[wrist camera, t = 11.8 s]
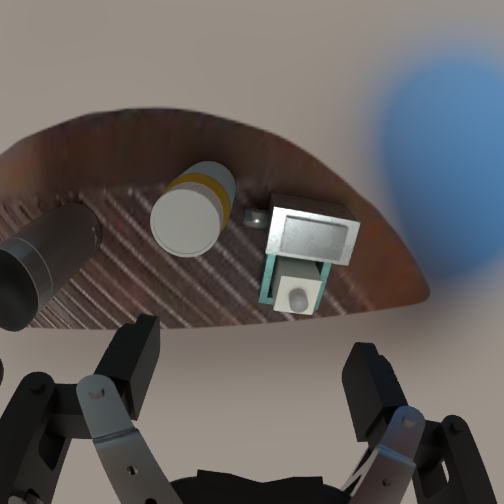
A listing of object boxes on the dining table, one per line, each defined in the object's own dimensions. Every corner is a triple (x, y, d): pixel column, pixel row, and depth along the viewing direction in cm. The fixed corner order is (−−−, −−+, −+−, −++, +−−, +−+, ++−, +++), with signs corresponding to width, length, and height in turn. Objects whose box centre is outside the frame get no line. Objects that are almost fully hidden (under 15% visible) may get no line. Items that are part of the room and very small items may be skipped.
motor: (232, 287, 46) (228, 319, 39) (248, 188, 40) (246, 204, 33) (318, 299, 46) (328, 330, 39) (344, 205, 40) (362, 224, 33)
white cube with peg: (277, 251, 43) (282, 284, 35) (312, 256, 44) (325, 289, 35) (271, 282, 45) (274, 319, 37) (304, 287, 46) (314, 324, 37)
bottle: (233, 215, 41) (222, 266, 28) (181, 209, 41) (146, 257, 27) (239, 162, 38) (228, 188, 25) (184, 158, 38) (145, 181, 24)
